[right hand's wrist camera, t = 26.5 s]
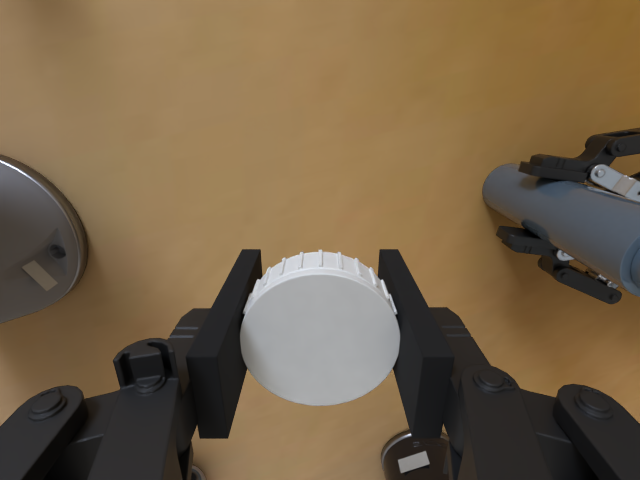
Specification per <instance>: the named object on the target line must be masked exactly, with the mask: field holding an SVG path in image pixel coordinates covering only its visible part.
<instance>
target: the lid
mask: <svg viewBox="0 0 640 480" xmlns="http://www.w3.org/2000/svg"><path fill="white" fill-rule="evenodd" d="M243 314H245V316H244V319H243V322H242V324H241V330H240V344H241V353H242V357H243V360H244V362H245V364H246V366H247V368H248V370H249V371H250V373H251V374H252V376H253V377H254V378H255V379H256V380H257V381H258V382H259V383H260V384H261V385H262V386H263V387H264V388H266V389H267V390H269V391H270V392H272V393H273V394H275V395H277V396H279V397H281V398H283V399H286V400H288V401H292V402H295V403H299V404H304V405H312V406H328V405H337V404H341V403H346V402H349V401H352V400H355V399H357V398H359V397H361V396H363V395H365V394H367V393H368V392H370V391H372V390H373V389H374V388H376V387H377V386H378V385H379V384H380V383H381V382H382V381H383V380H384V379H385V378H386V377H387V376H388V374H389V373H390V372H391V370H392V368H393V367H394V365H395V362H396V360H397V357H398V354H399V346H400V329H399V325H398V321H397V318H396V316H395V315H396V314H398V313H397V310H396V308H395V305H394V302H393V300H392V297H391V294H388V291H387V288H386V285H385V283H384V281H383V280H380V279H379V278H378V277H377V276H376V274H375V273H374V270H373V268H371V267H370V268H368V267H366V266H365V265H363V264H362V263H360V262H359V260H358V258H355V259H352V258H350V257H347V256H344V255H341V252H338V253H337V254H336V253H329V252H322V250H319V252H311V253H303V252H300V255H296V256H293V257H290V258H288V259H286V258H283V259H282V262H280V263H278V264H277V265H275V266H274V267H273V268H271V267H269V268H268V269H267V272H266V274H265V275H264V276H263V277H262V278H261V279H260V280H259V279H257V281H256V283H255V286H254V289H253V292H252V293H250V294H249V297H248V300H247V303H246V305H245V308H244V311H243Z"/></svg>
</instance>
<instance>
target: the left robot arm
mask: <svg viewBox="0 0 640 480" xmlns="http://www.w3.org/2000/svg"><path fill="white" fill-rule="evenodd" d="M585 148H586V149H585V151H584V152H583V153H582V154H581V155H580V156H578V157H576V158H566V157H558V156H551V155H544V154H537V155H533V156H532V157H531V159H530V162H522V161H521V163H520V166H519V169H518V171H519V172H522V173H525V174H528V175H531V176H536V177H543V178H551V179H558V180H566V181H574V182H580V183H584V182H585V183H587V185H589V186H591V187H594V188H597V189H600V190H603V191H607V192H610V193H613V194H616V195H619V196H623V197H626V198H629V199H632V200H636V201H639V202H640V172H638V173H636V174H634V175H632V176H629V177H628V176H626V175H623V174H622V173H620V172H618V171H616V170H614V169H612V168H610V167H609V165H610V164H611V163H612V162H613V160H614V159H615V158H616V157H621V156H627V155H634V154H640V128H635V129H629V130H622V131H616V132H610V133H604V134H597V135H593V136H591V137H589V138H588V139H587V141H586V143H585ZM496 235H497V236H498V237H499V238H501V239H502V243H504V244H505V245H506V246H508V247H509V248H510V249H512V250H514V251H515V252H519V253H529V254H536V255H542V257H541V258H540V259H539V260H538V266H539V267H540V268H541V269H542V270H544V271H546V272H547V273H549V274H550V275H551V276H553V277H554V279H556V280H557V281H559V282H561V283H563V284H565V285H567V286H570V287H572V288H574V289H576V290H579V291H581V292H583V293H586V294H588V295H590V296H592V297H595V298H597V299H599V300H601V301H604V302H606V303H608V304H615V303H617V302H618V301H619V300H620V299H621V297H622V294H621V292H619V291H618V290H616V288H617V287H618V285H616V284H615V283H613V282H612V281H610V280H608V279H607V278H605V277H603V276H602V275H600V274H598V273H597V272H595V271H594V270H592V269H590V268H588V269H587V270H586V272H584V271H582V270H580V269H578V268H575V267H573V266H571V265H569V260H572V259H574V258H572V257H571V256H569V255H567V254H566V253H564V252H562V251H561V250H559V249H557V248H556V247H554V246H552V245H551V244H549V243H548V242H546V241H544V240H543V239H541V238H539V237H538V236H536V235H534V234H533V233H531V232H530V231H528V230H526V229H523V228H515V227H507V226H499V228H498V230H497V233H496ZM448 442H449V437H448V436H447V435H446V434H444V433H442V432H441V438H412V436H411V432H410V430H408V431H405V432H402V433H400V434H398V435H396V436H395V437H393V438H392V439H391V440H389V441H388V442H387V444H386V445H385V446H384V448H383V450H382V453H381V462H382V467H383V471H384V474H385V480H449V473H447V474H444V473H443V469H444V463H445V458H446V452H447V447H448Z"/></svg>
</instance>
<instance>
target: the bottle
mask: <svg viewBox="0 0 640 480" xmlns="http://www.w3.org/2000/svg"><path fill="white" fill-rule="evenodd" d="M519 166H520V165H519V164H515V163H510V164H504V165H502V166H500V167H498V168H496V169H495V170H493V171H492V172H491V173H490V174H489V176H488V177H487V178H486V180H485V182H484V185H483V198H484V201H485V203H486V204H487V205H488V206H489V207H490V208H492V209H493V210H495V211H497V212H498V213H500V214H502V215H503V216H505V217H507V218H508V219H510V220H511V221H513V222H515V223H516V224H518V225H520V226H521V227H523V228H525V229H526V230H528V231H530V232H531V233H533V234H534V235H536V236H538V237H539V238H541V239H543V240H544V241H546V242H548V243H549V244H551V245H552V246H554V247H556V248H557V249H559V250H561V251H562V252H564V253H566V254H567V255H569V256H571V257H572V258H574V259H575V260H577V261H579V262H580V263H582V264H584V265H585V266H587V267H589V268H590V269H592V270H594V271H595V272H597V273H598V274H600V275H602V276H603V277H605V278H607V279H608V280H610V281H612V282H613V283H615V284H616V285H618V286H620V287H621V288H623V289H625V290H626V291H628V292H630V293H631V294H633V295H635V296H638V297H640V202H639V201H636V200H632V199H629V198H626V197H623V196H619V195H616V194H613V193H610V192H607V191H603V190H600V189H597V188H594V187H590V186H587V185H584V184H581V183H577V182H574V181H566V180H558V179H551V178H543V177H536V176H531V175H528V174H525V173H522V172H519V171H518V169H519Z"/></svg>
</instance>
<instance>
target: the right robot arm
mask: <svg viewBox="0 0 640 480" xmlns="http://www.w3.org/2000/svg"><path fill="white" fill-rule="evenodd" d="M86 263H87V241H86V236H85V232H84V229H83V226H82V224H81V222H80V219H79V217H78V216H77V214H76V212H75V210H74V209H73V207H72V206H71V204H70V203H69V201H68V200H67V199H66V197H65V196H64V195H63V194H62V193H61V192H60V191H59V190H58V189H57V188H56V187H55V186H54V185H53V184H52V183H51V182H50V181H49V180H47V179H46V178H45V177H44V176H42V175H41V174H40V173H38V172H37V171H35V170H34V169H32V168H30V167H29V166H27V165H25V164H23V163H21V162H19V161H17V160H14V159H12V158H9V157H6V156H3V155H0V323H3V322H6V321H9V320H12V319H15V318H19V317H22V316H25V315H28V314H31V313H34V312H37V311H39V310H42V309H44V308H46V307H47V306H49V305H51V304H53V303H55V302H57V301H58V300H59V299H61V298H62V297H63V296H65V295H66V294H67V293H68V292H70V291H71V290H72V289H73V288H74V287H75V286H76V285H77V283H78V282H79V281H80V279H81V277H82V275H83V273H84V270H85V267H86ZM261 278H262V264H261V250H260V249H242V251H241V253H240V255H239V257H238V258H237V260H236V262H235V264H234V266H233V268H232V270H231V272H230V274H229V275H228V277H227V279H226V281H225V283H224V285H223V287H222V289H221V291H220V292H219V294H218V296H217V298H216V300H215V302H214V304H213V306H212V308H211V309H192V310H191V311H189V312H188V313H187V314H185V315H184V316H183V317H182V318H181V319H180V321H179V322H178V324H177V325H176V327H175V329H174V330H173V332H172V333H171V335H170V338H168V339H167V340H165V339H161V338H149V339H145V340H141V341H138V342H135V343H133V344H131V345H129V346H127V347H126V348H124V349H123V350H122V351H120V352H119V353H118V354H117V355H116V357H115V358H114V360H113V363H114V366H115V370H116V374H117V377H118V381H119V385H120V390H118V391H115V392H112V393H108V394H104V395H99V396H95V397H91V398H86V399H84V396H83V392H82V391H81V390H80V389H79V388H78V387H75V386H69V385H66V386H59V387H54V388H51V389H49V390H46V391H43V392H41V393H39V394H37V395H36V396H34V397H32V398H30V399H29V400H27V401H26V402H25V403H24V404H23V405H21V406H20V407H19V408H18V409H17V410H16V411H15V412H14V413H13V414H12V415H11V416H10V417H9V418H8V419H7V420H6V421H5V422H4V423H3V424H2V425H1V426H0V480H191V474H192V463H193V448H192V442H191V439H192V436H193V434H194V431H195V429H196V426H197V425H198V431H199V437H200V438H228V437H229V433H230V429H231V426H232V422H233V418H234V415H235V411H236V407H237V404H238V400H239V397H240V393H241V389H242V386H243V382H244V378H245V375H246V371H247V366H246V364H245V362H244V360H243V357H242V353H241V344H240V330H241V324H242V322H243V319H244V316H245V314H243V311H244V308H245V305H246V303H247V300H248V297H249V294H250V293H252V292H253V289H254V286H255V283H256V281H257V279H259V280H260V279H261ZM378 278H379V279H380V280H383V281H384V283H385V285H386V288H387V291H388V294H391V297H392V300H393V302H394V305H395V308H396V310H397V313H398V314H396V315H395V316H396V318H397V321H398V325H399V329H400V346H399V354H398V357H397V360H396V362H395V365H394V367H393V370H394V374H395V378H396V381H397V385H398V388H399V392H400V396H401V399H402V403H403V407H404V410H405V414H406V418H407V421H408V425H409V429H410V432H411V436H412V438H441V432H442V426H443V424H444V426H445V429H446V432H447V434H448V437H449V442H448V447H447V452H446V458H445V463H444V469H443V473H444V474H447V473H449V480H640V424H639V423H638V422H637V421H636V420H635V419H634V418H633V417H632V416H631V415H630V414H629V413H628V412H627V411H626V410H625V409H624V408H623V406H621V405H620V404H619V403H618V402H616V401H615V400H614V399H613V398H611V397H610V396H608V395H606V394H604V393H602V392H601V391H599V390H596V389H593V388H590V387H588V386H584V385H577V384H570V385H564V386H563V387H561V388H560V389H559V390H558V393H557V396H556V398H555V397H551V396H547V395H543V394H538V393H534V392H530V391H527V390H523V389H520V388H519V386H518V384H517V383H516V381H515V380H514V379H513V378H512V377H511V376H510V375H508V374H507V373H506V372H504V371H502V370H500V369H498V368H496V367H493V366H491V365H490V364H489V362H488V361H487V359H486V358H485V356H484V354H483V353H482V351H481V350H480V348H479V347H478V345H477V344H476V342H475V341H474V339H473V337H471V334H470V333H469V331H468V330H467V328H465V325H464V324H463V322H462V321H461V319H460V317H459V316H458V315H456V314H455V313H454V312H452V311H451V310H450V309H448V308H447V307H428V305H427V303H426V301H425V300H424V298H423V296H422V294H421V292H420V290H419V288H418V286H417V284H416V283H415V281H414V279H413V277H412V275H411V273H410V271H409V269H408V268H407V266H406V264H405V262H404V260H403V258H402V256H401V254H400V252H399V251H398V249H380V253H379V267H378Z"/></svg>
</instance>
